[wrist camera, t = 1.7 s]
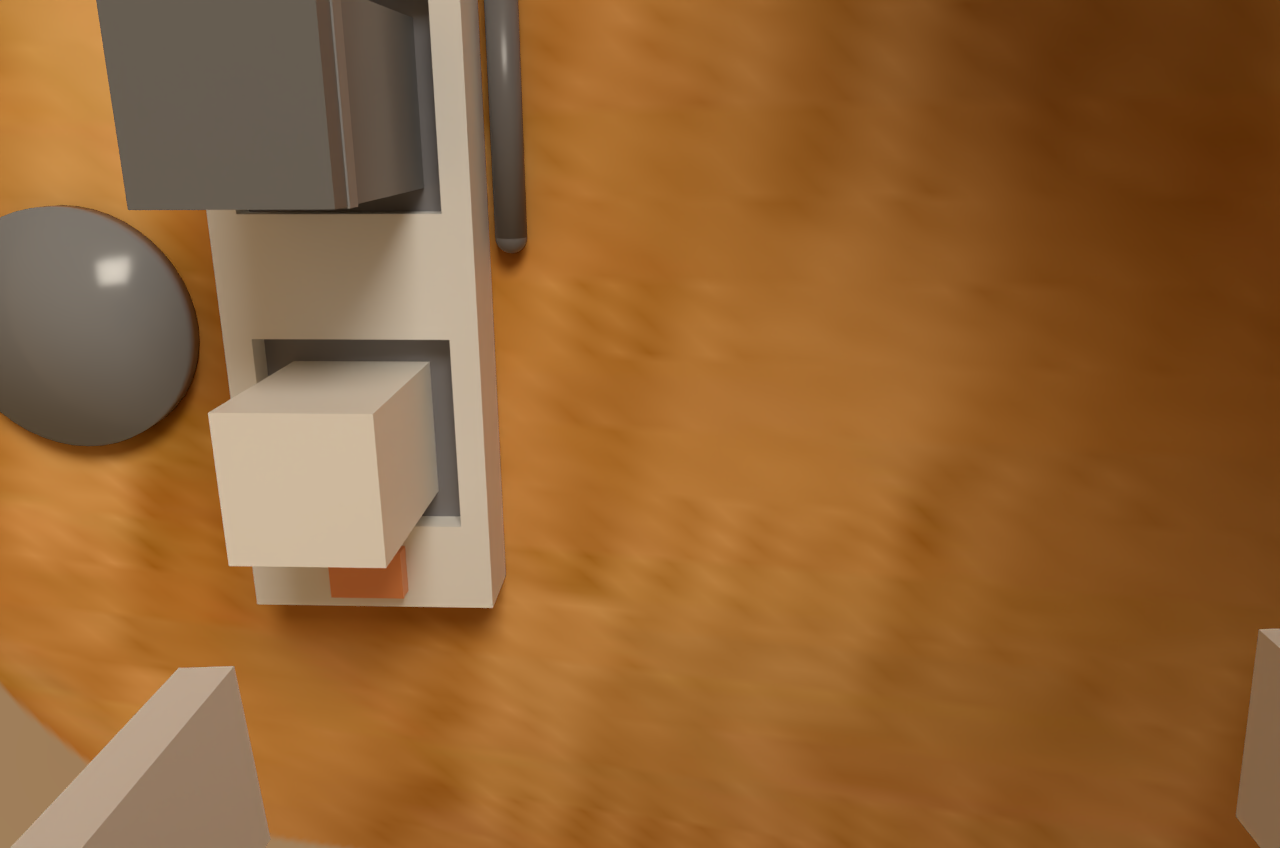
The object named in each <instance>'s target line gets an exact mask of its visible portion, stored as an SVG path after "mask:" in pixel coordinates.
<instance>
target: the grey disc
mask: <svg viewBox="0 0 1280 848" xmlns="http://www.w3.org/2000/svg"><path fill="white" fill-rule="evenodd" d="M198 354H199V330H198V323H197V318H196V313H195V309H194V306H193V303H192V300H191V297H190V295H189V293H188V290H187V288H186V286H185V284H184V282H183V280H182V278H181V277H180V275H179V274H178V272H177V270H176V269H175V267H174V266H173V265H172V263H171V262H170V261H169V259H168V258H167V257H166V256H165V254H164V253H163V252H162V251H161V250H160V249H159V248H158V247H157V246H156V245H155V244H154V243H153V242H152V241H151V240H149V239H148V238H147V237H146V236H144V235H143V234H142V233H141V232H139V231H138V230H136V229H135V228H133V227H132V226H130V225H128V224H127V223H125V222H124V221H121V220H119V219H117V218H115V217H113V216H111V215H109V214H106V213H103V212H100V211H97V210H94V209H89V208H84V207H79V206H67V205H57V206H44V207H36V208H30V209H25V210H20V211H16V212H13V213H11V214H8V215H5V216H3V217H1V218H0V412H1V413H2V414H4V415H5V416H7V417H8V418H9V419H11V420H12V421H13V422H15V423H16V424H18V425H20V426H21V427H23V428H25V429H26V430H28V431H30V432H32V433H35V434H37V435H39V436H41V437H44V438H47V439H50V440H53V441H56V442H60V443H65V444H70V445H79V446H99V445H107V444H112V443H117V442H120V441H123V440H126V439H129V438H132V437H133V436H135V435H137V434H139V433H141V432H143V431H145V430H147V429H149V428H150V427H152V426H154V425H155V424H157V423H158V422H160V421H161V420H162V419H164V418H165V417H167V416H168V415H169V414H170V413H171V412H172V411H173V410H174V409H175V408H176V407H177V405H178V404H179V402H180V401H181V400H182V398H183V397H184V396H185V394H186V392H187V390H188V388H189V386H190V384H191V382H192V379H193V376H194V373H195V371H196V366H197V361H198Z"/></svg>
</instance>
